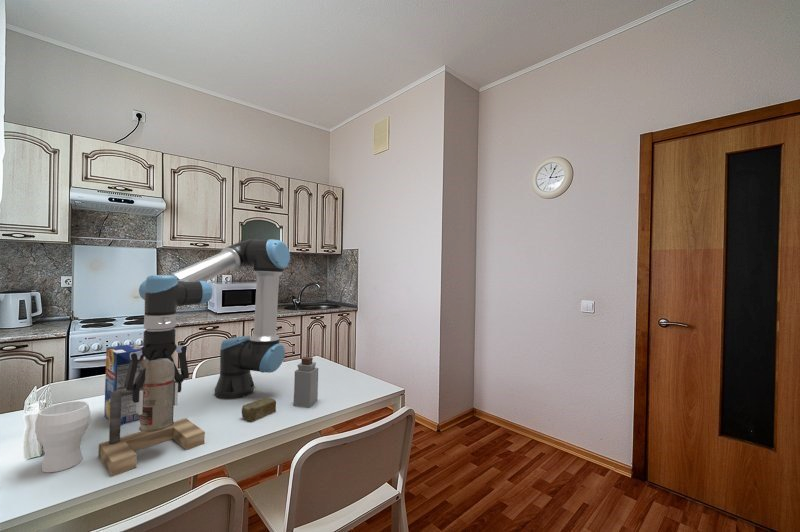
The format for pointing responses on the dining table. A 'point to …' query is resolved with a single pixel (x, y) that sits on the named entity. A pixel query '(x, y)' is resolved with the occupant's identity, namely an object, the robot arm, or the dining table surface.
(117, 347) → the juice carton
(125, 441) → the wooden stand
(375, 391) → the dining table surface
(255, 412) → the stone block
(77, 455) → the cup
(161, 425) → the spray can
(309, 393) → the perfume bottle
